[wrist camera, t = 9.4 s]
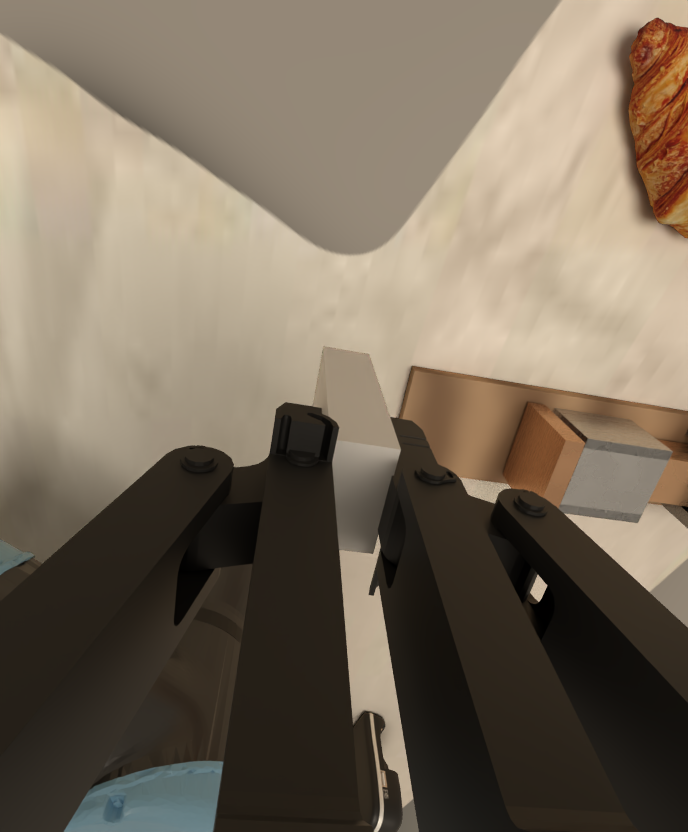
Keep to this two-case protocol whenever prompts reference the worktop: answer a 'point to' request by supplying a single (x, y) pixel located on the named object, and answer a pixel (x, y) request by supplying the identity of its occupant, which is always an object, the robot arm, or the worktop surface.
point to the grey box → (678, 509)
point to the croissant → (662, 118)
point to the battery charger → (376, 777)
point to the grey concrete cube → (612, 467)
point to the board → (505, 418)
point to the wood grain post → (574, 460)
